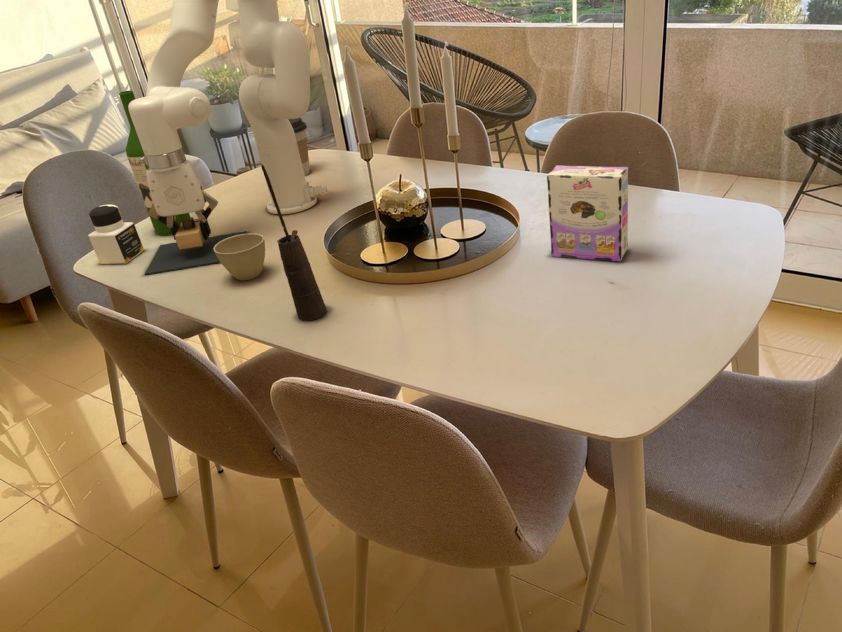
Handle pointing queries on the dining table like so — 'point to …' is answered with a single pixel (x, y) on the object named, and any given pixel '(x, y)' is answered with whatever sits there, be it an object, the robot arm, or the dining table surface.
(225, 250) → the beige bowl
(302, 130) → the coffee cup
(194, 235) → the stamp
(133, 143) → the wine bottle
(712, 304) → the dining table surface
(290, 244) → the butter churn
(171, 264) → the desk mat
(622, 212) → the candy box
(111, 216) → the medicine bottle
